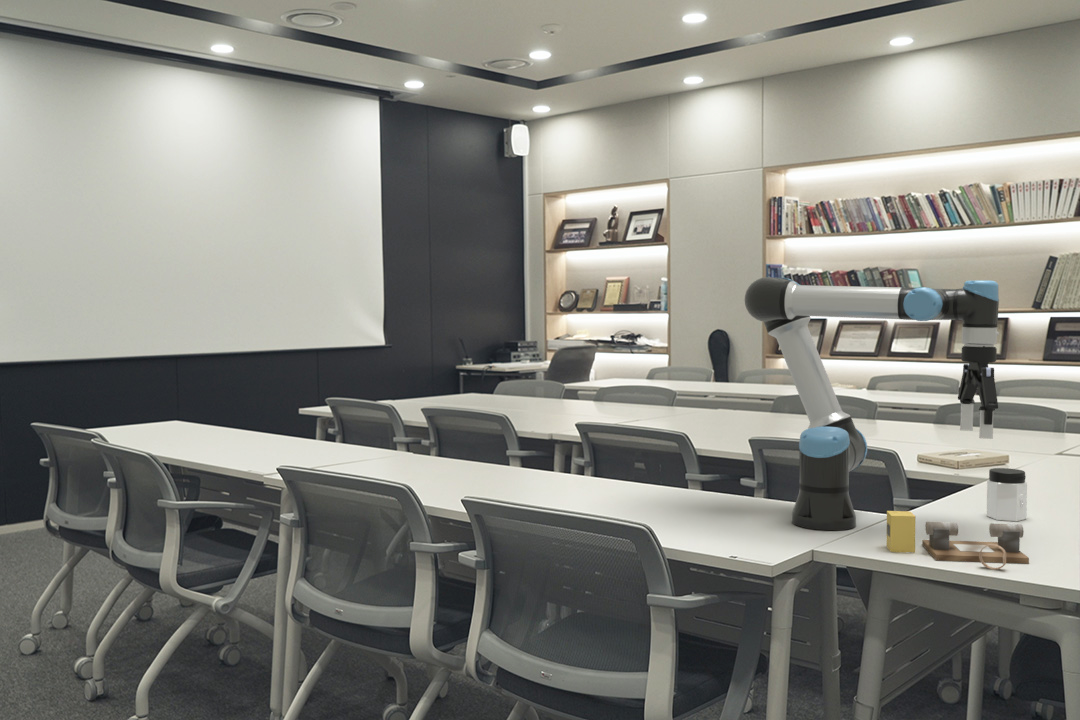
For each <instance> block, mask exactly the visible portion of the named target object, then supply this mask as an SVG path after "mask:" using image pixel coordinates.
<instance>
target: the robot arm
mask: <svg viewBox="0 0 1080 720" xmlns="http://www.w3.org/2000/svg"><path fill="white" fill-rule="evenodd" d="M999 303H1000V299H999V284H998V282H997V281H995V280H988V279H987V280H980V279H979V280H966V281H965V282H964V283H963V287H962V288H931V287H926V286H925V287H924V286H921V287H920V286H919V287H898V286H897V287H896V286H891V287H890V286H889V287H887V286H851V285H849V286H848V285H844V286H843V285H810V284H809V285H805V284H804V285H803V284H799V283H798V282H797V281H795V280H793V279H790V278H788V277H770V276H765V277H761V278H759V279H755V280H754V281H753V282H752V283H750V285H749V286H748V287H747V289H746V291H745V295H744V305H745V308H746V311H747V312H748V314H749V315H750V316H751V317H752V318H754V319H755V320H757V321H760V322H763V324H764V327H765V330H766V332H767V334H768V336H771V337H773V338H775V339H776V341H777V344H778V346H779V349H780V351H781V353H782V356H783V358H784V361H785V364H786V366H787V369H788V370H789V373H790V376H791V378H792V381H793V384H794V386H795V388H796V391H797V393H798V396H799V398H800V401H801V403H802V406H803V408H804V410H805V414H806V416H807V418H808V421H809V425H808V427H807V429H805V430H803V431H802V432H801V433H800V436H799V442H798V448H799V449H798V450H799V490H798V491H799V492H798V495H797V497H796V498H797V499H796V501H795V504H794V506H793V510H792V514H791V522H792V524H794V525H795V526H798V527H801V528H805V529H810V530H811V529H812V530H819V531H821V530H822V531H843V530H850V529H853V528H856V526H857V517H856V516H857V515H856V511H855V510H854V506H853V503H852V501H851V497H850V494H849V490H850V489H849V484H850V483H849V481H850V479H849V478H850V473H851V472H853V471H855V470H857V469H858V468H859V467H860V466H861V465H862V464H863V463H864V461H865V459H866V457H867V454H868V442H867V440H866V437H865V436H864V434H863V433H862V432H861V431H860V430H859V429H858V428H856V426H855V423H854V421H853V419H852V416H851V415H850V414H849V413H846V412H844V411H843V409H842V407H841V405H840V403H839V400H838V397H837V396H836V393H835V390H834V388H833V386H832V382H831V380H830V378H829V375H828V374H827V371H826V368H825V366H824V364H823V361H822V358H821V356H820V353H819V352H818V349H817V347H816V344H815V341H814V339H813V336H812V334H811V332H810V331H811V330H810V329H809V327H808V326H809V323H810V320H811V317H822V318H823V317H826V318H828V317H829V318H853V319H855V318H856V319H880V320H881V319H882V320H883V319H885V320H902V321H904V320H905V321H907V320H908V321H918V322H928V321H962V327H961V344H963V346H962V347H961V355H960V356H961V357H960V358H961V362H963V363H964V362H965V363H964V364H963V370H962V376H961V380H960V386H959V390H958V395H957V400H959V402H960V424H959V426H960V428H959V430H960V431H963V432H964V431H969V432H970V431H973V429H974V428H973V426H974V404H975V403H976V402H975V400H974V398H975V396H976V393H978V396H979V401H980V405H981V406H980V407H979V409H978V410H979V413H980V414H979V435H978V436H979V439H982V440H983V439H985V440H986V439H990V440H991V439H993V438H994V417H995V416H994V413H995V410H997V409H999V401H998V394H997V389H996V387H997V386H996V382H995V380H996V379H995V367H989V363H990V364H991V363H992V364H993V363H996V362H997V347H995V346H994V345H997V344H998V336H999V335H1000V332H999V331H998V320H999V305H1000V304H999Z"/></svg>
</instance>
